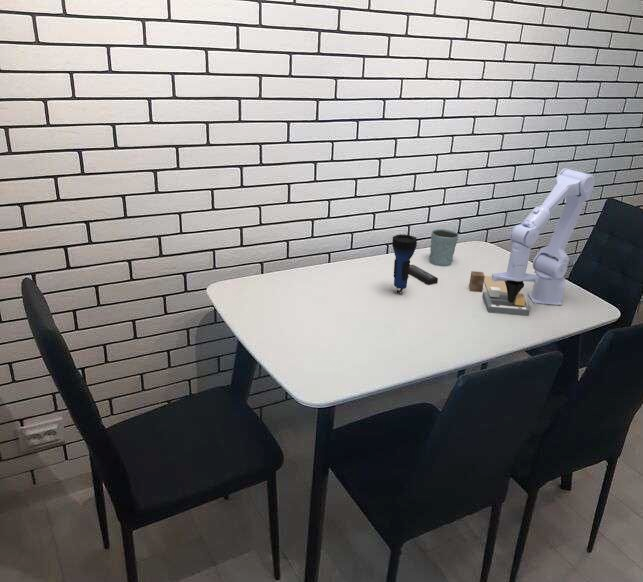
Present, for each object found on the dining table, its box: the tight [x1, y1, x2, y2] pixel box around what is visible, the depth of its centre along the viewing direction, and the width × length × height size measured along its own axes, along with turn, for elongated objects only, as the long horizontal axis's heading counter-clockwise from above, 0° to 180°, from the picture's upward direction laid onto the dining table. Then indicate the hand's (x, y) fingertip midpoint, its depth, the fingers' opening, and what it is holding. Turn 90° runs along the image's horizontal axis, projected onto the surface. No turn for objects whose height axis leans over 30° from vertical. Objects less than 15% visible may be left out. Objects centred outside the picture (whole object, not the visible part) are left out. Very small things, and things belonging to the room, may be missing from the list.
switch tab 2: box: [514, 294, 526, 306], centre depth 187 cm, size 3×3×2 cm
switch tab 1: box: [489, 287, 501, 297], centre depth 192 cm, size 3×3×2 cm
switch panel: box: [482, 291, 531, 317], centre depth 190 cm, size 13×12×2 cm
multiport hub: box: [409, 264, 439, 286], centre depth 210 cm, size 4×14×2 cm, turn 30°
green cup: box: [429, 228, 459, 267], centre depth 222 cm, size 10×10×12 cm
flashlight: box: [392, 233, 418, 294], centre depth 192 cm, size 8×8×20 cm
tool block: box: [468, 270, 486, 293], centre depth 201 cm, size 4×4×6 cm
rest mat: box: [483, 275, 524, 295], centre depth 206 cm, size 12×14×1 cm
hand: (510, 301), depth 187 cm, fingers closed
